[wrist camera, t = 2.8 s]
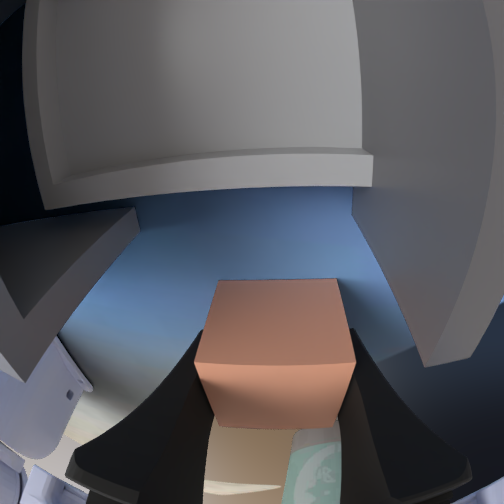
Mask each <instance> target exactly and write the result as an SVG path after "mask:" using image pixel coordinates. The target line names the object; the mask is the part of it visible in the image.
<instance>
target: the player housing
mask: <svg viewBox="0 0 504 504" xmlns="http://www.w3.org/2000/svg"><path fill="white" fill-rule="evenodd" d="M25 3H26V0H0V25H1V24H2V23H3V22H4V21H5V20H6V19H7V18H8V17H10V16H11V15H12V14H13V13H14V12H15V11H17V10H18V9H19V8H20V7H22V6H23V5H24V4H25ZM139 233H140V227H139V223H138V219H137V215H136V211H135V207H127V208H117V209H109V210H100V211H92V212H85V213H77V214H70V215H63V216H56V217H50V218H43V219H37V220H31V221H25V222H19V223H14V224H8V225H3V226H0V370H1V371H3V372H5V373H7V374H8V375H10V376H12V377H14V378H16V379H18V380H20V381H22V382H24V383H26V382H27V380H28V378H29V377H30V375H31V373H32V372H33V370H34V369H35V367H36V365H37V364H38V362H39V361H40V359H41V358H42V356H43V355H44V353H45V352H46V350H47V349H48V347H49V346H50V344H51V343H52V341H53V340H54V338H55V337H56V335H57V334H58V333H59V331H60V330H61V328H62V327H63V326H64V324H65V323H66V321H67V320H68V319H69V317H70V316H71V315H72V313H73V312H74V311H75V309H76V308H77V307H78V305H79V304H80V303H81V301H82V300H83V299H84V297H85V296H86V295H87V294H88V292H89V291H90V290H91V289H92V287H93V286H94V285H95V284H96V282H97V281H98V280H99V279H100V277H101V276H102V275H103V274H104V273H105V271H106V270H107V269H108V268H109V267H110V265H111V264H112V263H113V262H114V261H115V260H116V258H117V257H118V256H119V255H120V254H121V253H122V251H123V250H124V249H125V248H126V247H127V246H128V245H129V244H130V242H131V241H132V240H133V239H134V238H135V237H136V236H137V235H138V234H139Z"/></svg>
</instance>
